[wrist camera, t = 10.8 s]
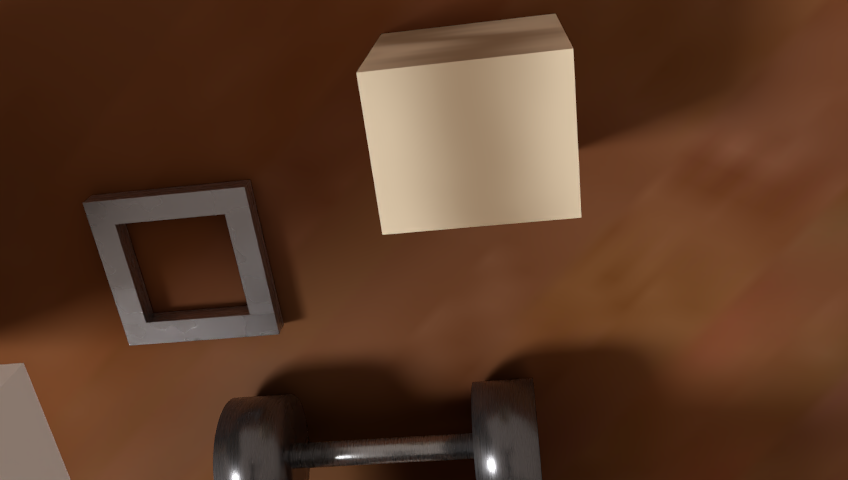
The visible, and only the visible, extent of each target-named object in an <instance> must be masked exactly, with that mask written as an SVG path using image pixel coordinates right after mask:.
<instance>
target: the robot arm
mask: <svg viewBox="0 0 848 480" xmlns="http://www.w3.org/2000/svg"><path fill="white" fill-rule="evenodd" d="M0 480H70V477H69V475H68V472H67V470H66V467H65V465H64V462H63V460H62V457H61V455H60V452H59V450H58V448H57V445H56V443H55V440H54V438H53V435H52V433H51V430H50V428H49V425H48V423H47V420H46V418H45V415H44V413H43V410H42V408H41V405H40V403H39V400H38V398H37V395H36V393H35V390H34V388H33V385H32V383H31V380H30V378H29V375H28V373H27V371H26V368H25V366H24V363H18V364H4V365H0Z"/></svg>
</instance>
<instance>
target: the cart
mask: <svg viewBox="0 0 848 480" xmlns="http://www.w3.org/2000/svg"><path fill="white" fill-rule="evenodd" d="M471 408H472V433H463V434H446V435H429V436H412V437H395V438H378V439H361V440H344V441H327V442H310V443H309V436H308V428H307V422H306V418H305V414H304V411H303V408H302V405H301V403H300V401H299V399H298V398H297V397H296V396H295V395H293V394H286V395H271V396H255V397H240V398H233V399H231V400H230V401H229V402H228V403H227V404H226V405H225V407H224V409H223V411H222V413H221V415H220V419H219V422H218V426H217V430H216V435H215V442H214V453H213V473H214V480H309V469H310V468H315V467H333V466H352V465H370V464H388V463H406V462H425V461H443V460H461V459H474V462H475V473H476V480H542V473H541V462H540V450H539V439H538V428H537V417H536V406H535V395H534V385H533V378H528V379H513V380H498V381H483V382H473V383H472V393H471Z"/></svg>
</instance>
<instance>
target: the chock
mask: <svg viewBox="0 0 848 480" xmlns="http://www.w3.org/2000/svg"><path fill="white" fill-rule="evenodd" d="M356 74H357V80H358V86H359V93H360V99H361V105H362V111H363V117H364V123H365V130H366V136H367V142H368V148H369V154H370V161H371V167H372V173H373V179H374V185H375V192H376V198H377V204H378V210H379V216H380V223H381V229H382V235H385V234H397V233H408V232H420V231H431V230H443V229H455V228H466V227H478V226H489V225H501V224H512V223H524V222H535V221H547V220H558V219H570V218H581V200H580V179H579V158H578V136H577V115H576V94H575V72H574V51H573V47H572V45H571V43H570V41H569V39H568V37H567V35H566V33H565V31H564V29H563V27H562V25H561V23H560V21H559V19H558V18H557V16H556V14H547V15H539V16H530V17H522V18H513V19H504V20H496V21H487V22H479V23H470V24H462V25H453V26H445V27H436V28H427V29H419V30H410V31H402V32H393V33H385V34H381V35H380V37H379V38H378V40H377V41H376V43H375V45H374V46H373V48H372V49H371V51H370V52H369V54H368V55H367V57H366V58H365V60H364V62H363V63H362V65H361V66H360V68H359V69H358V71H357V72H356Z"/></svg>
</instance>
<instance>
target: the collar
mask: <svg viewBox="0 0 848 480" xmlns="http://www.w3.org/2000/svg"><path fill="white" fill-rule="evenodd" d="M83 206H84V209H85V212H86V215H87V218H88V221H89V224H90V227H91V230H92V233H93V236H94V239H95V242H96V245H97V248H98V251H99V254H100V257H101V260H102V263H103V266H104V269H105V273H106V276H107V279H108V282H109V285H110V288H111V291H112V294H113V297H114V300H115V303H116V306H117V309H118V312H119V315H120V318H121V321H122V324H123V327H124V330H125V333H126V336H127V339H128V342H129V345H142V344H156V343H169V342H182V341H195V340H209V339H222V338H235V337H249V336H262V335H275V334H280V331H281V329H282V327H283V325H284V323H283V319H282V314H281V310H280V306H279V301H278V297H277V293H276V289H275V284H274V280H273V276H272V271H271V267H270V263H269V258H268V254H267V250H266V246H265V241H264V237H263V233H262V228H261V224H260V220H259V215H258V211H257V207H256V203H255V198H254V194H253V190H252V185H251V181H250V180H240V181H230V182H220V183H210V184H199V185H189V186H179V187H169V188H159V189H149V190H139V191H129V192H119V193H109V194H99V195H92V196H90V197H89V198H88V199H87V200H85V201H84V202H83ZM221 214H225V217H226V221H227V225H228V229H229V233H230V237H231V241H232V245H233V249H234V253H235V257H236V261H237V265H238V269H239V273H240V277H241V281H242V285H243V289H244V293H245V297H246V301H247V306H235V307H222V308H210V309H197V310H185V311H172V312H160V313H153V310H152V307H151V304H150V300H149V297H148V294H147V291H146V288H145V284H144V281H143V278H142V275H141V271H140V268H139V265H138V262H137V258H136V255H135V252H134V249H133V245H132V242H131V239H130V236H129V233H128V229H127V226H126V223H136V222H147V221H157V220H168V219H178V218H189V217H200V216H210V215H221Z"/></svg>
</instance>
